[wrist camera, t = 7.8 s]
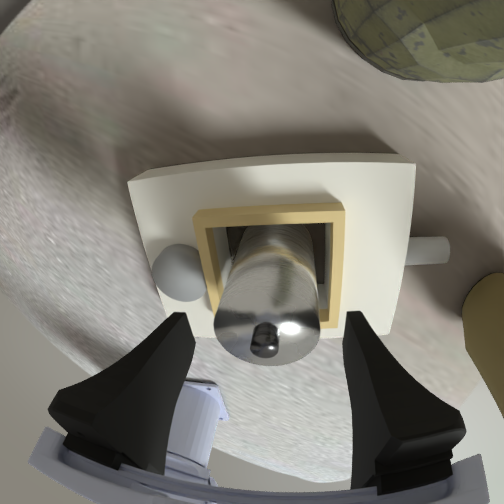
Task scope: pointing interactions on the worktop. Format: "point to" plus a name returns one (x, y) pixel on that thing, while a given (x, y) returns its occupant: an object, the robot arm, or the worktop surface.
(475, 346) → the squeeze bottle
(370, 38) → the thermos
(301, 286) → the spout can
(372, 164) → the white holder tray
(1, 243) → the worktop surface
